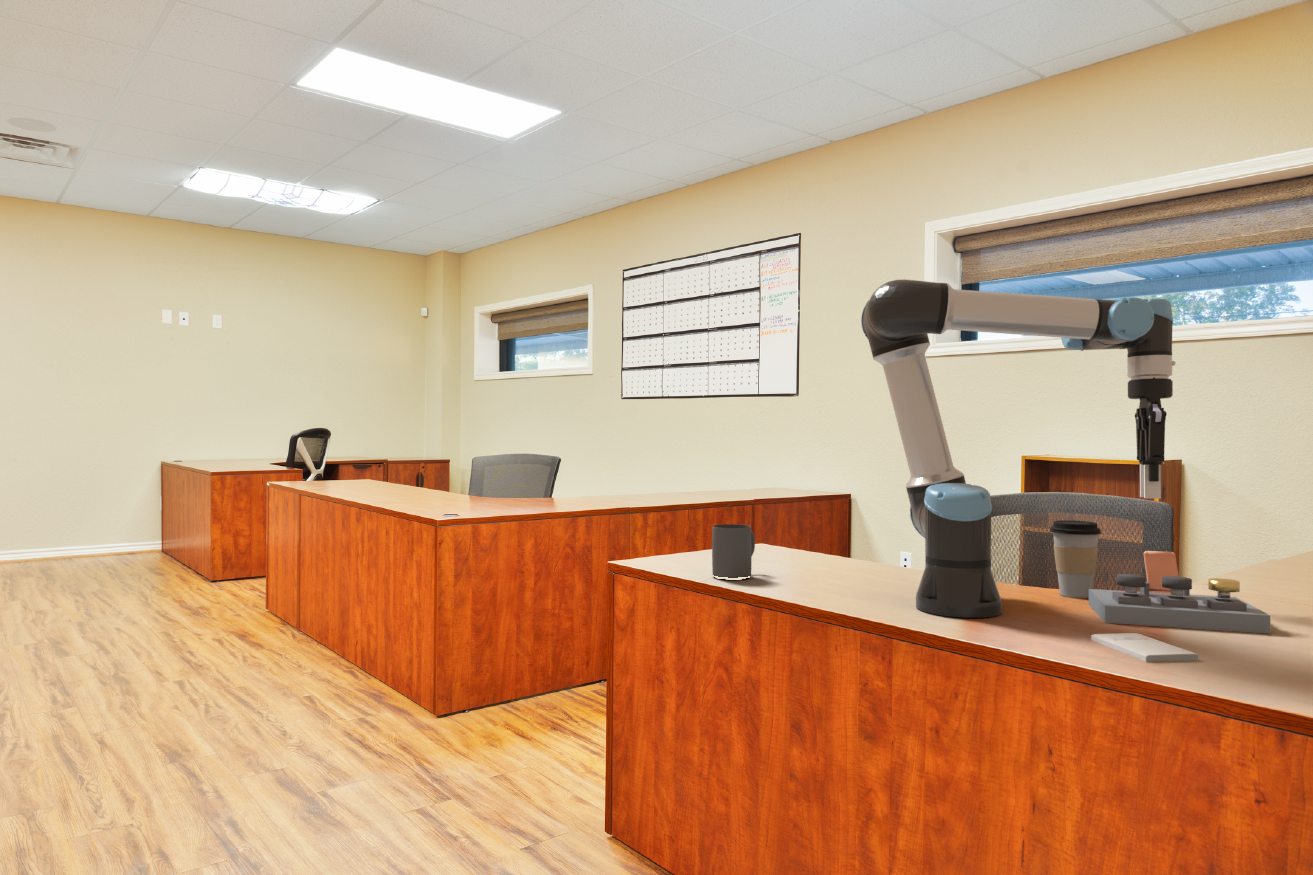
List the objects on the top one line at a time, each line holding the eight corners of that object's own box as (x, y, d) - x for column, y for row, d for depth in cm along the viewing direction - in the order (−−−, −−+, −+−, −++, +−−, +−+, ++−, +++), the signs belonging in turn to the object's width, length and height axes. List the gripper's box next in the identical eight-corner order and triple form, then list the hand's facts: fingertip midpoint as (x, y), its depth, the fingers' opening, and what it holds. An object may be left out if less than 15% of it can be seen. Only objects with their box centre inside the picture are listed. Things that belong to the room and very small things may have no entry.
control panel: (1105, 622, 138) (1105, 591, 138) (1088, 604, 153) (1088, 576, 153) (1270, 633, 130) (1270, 600, 130) (1235, 613, 145) (1235, 583, 145)
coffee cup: (1108, 600, 156) (1108, 525, 156) (1057, 599, 158) (1056, 524, 158) (1092, 591, 165) (1092, 520, 165) (1043, 590, 167) (1043, 519, 167)
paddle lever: (1149, 588, 146) (1143, 549, 150) (1147, 590, 147) (1142, 552, 151) (1181, 590, 145) (1175, 550, 148) (1179, 592, 146) (1173, 553, 149)
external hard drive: (1145, 666, 114) (1091, 643, 126) (1198, 664, 115) (1139, 641, 127) (1145, 654, 114) (1091, 633, 126) (1198, 653, 114) (1139, 631, 127)
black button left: (1119, 593, 139) (1119, 577, 139) (1114, 589, 144) (1114, 573, 144) (1148, 595, 138) (1148, 578, 138) (1142, 590, 142) (1142, 574, 142)
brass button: (1213, 598, 135) (1213, 581, 135) (1204, 594, 139) (1204, 577, 139) (1243, 600, 133) (1243, 583, 133) (1234, 595, 137) (1234, 579, 137)
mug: (736, 582, 177) (736, 529, 177) (704, 577, 183) (704, 526, 183) (769, 574, 187) (769, 524, 187) (738, 570, 194) (738, 521, 194)
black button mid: (1165, 596, 137) (1165, 579, 137) (1159, 591, 141) (1158, 575, 141) (1195, 597, 136) (1195, 581, 136) (1187, 593, 140) (1187, 576, 140)
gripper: (1183, 375, 147) (1184, 501, 147) (1161, 380, 161) (1161, 495, 161) (1137, 376, 149) (1138, 500, 149) (1119, 381, 164) (1119, 494, 164)
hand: (1150, 497), depth 155 cm, fingers open, 3 cm apart
